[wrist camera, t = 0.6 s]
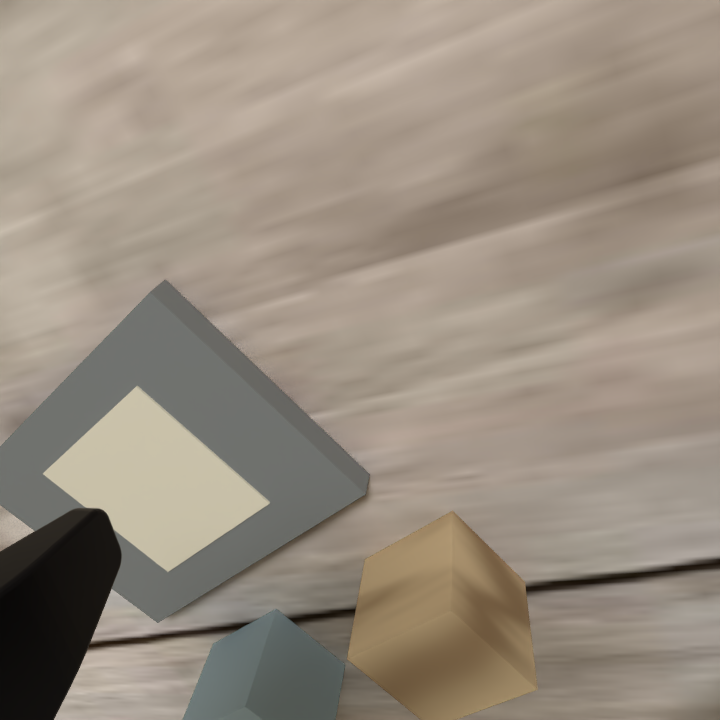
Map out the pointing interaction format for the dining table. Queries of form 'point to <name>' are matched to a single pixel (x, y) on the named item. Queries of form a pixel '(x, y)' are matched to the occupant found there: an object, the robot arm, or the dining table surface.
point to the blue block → (268, 675)
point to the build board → (176, 456)
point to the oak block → (443, 623)
